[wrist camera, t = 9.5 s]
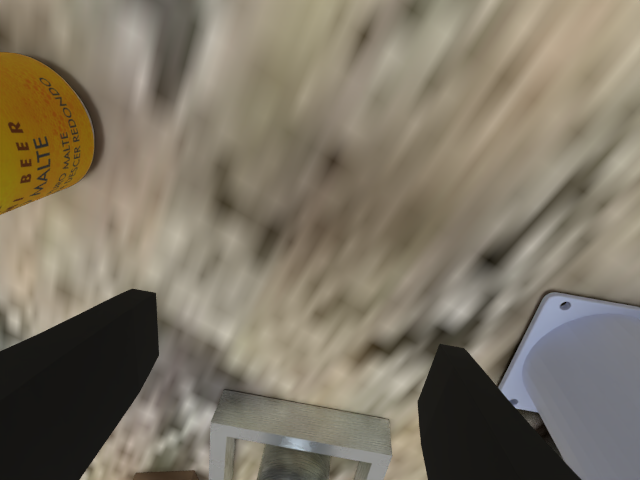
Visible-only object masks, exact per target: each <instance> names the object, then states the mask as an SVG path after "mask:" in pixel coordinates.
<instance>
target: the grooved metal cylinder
mask: <svg viewBox="0 0 640 480" xmlns="http://www.w3.org/2000/svg"><path fill="white" fill-rule="evenodd" d="M329 471H330V456H329V455H324V454H319V453H313V452H308V451H302V450H297V449H292V448H286V447H281V446H275V445H270V444H265V448H264V452H263V456H262V460H261V464H260V468H259V473H258V477H257V480H329Z"/></svg>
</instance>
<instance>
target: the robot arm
mask: <svg viewBox="0 0 640 480" xmlns="http://www.w3.org/2000/svg"><path fill="white" fill-rule="evenodd" d="M563 302H567V303H566V304H565V305H562V306H560V305H561V304H562V303H563ZM158 356H159V346H158V326H157V306H156V293H153V292H148V291H142V290H137V289H130V290H128V291H126V292H124V293H121V294H119V295H117V296H115V297H113V298H111V299H109V300H107V301H105V302H103V303H101V304H99V305H97V306H95V307H93V308H91V309H89V310H87V311H85V312H83V313H81V314H79V315H77V316H75V317H73V318H71V319H68V320H66V321H64V322H62V323H60V324H58V325H56V326H54V327H52V328H50V329H48V330H46V331H44V332H42V333H40V334H38V335H36V336H33V337H31V338H29V339H27V340H24V341H22V342H20V343H18V344H16V345H13V346H11V347H9V348H7V349H5V350H2V351H0V480H79V479H80V478H81V476H82V475H83V474H84V472H85V471H86V469H87V468H88V466H89V465H90V463H91V462H92V461H93V459H94V458H95V456H96V455H97V453H98V452H99V450H100V449H101V448H102V446H103V445H104V443H105V442H106V440H107V439H108V438H109V436H110V435H111V433H112V432H113V430H114V429H115V427H116V426H117V425H118V423H119V422H120V420H121V419H122V417H123V416H124V414H125V413H126V411H127V410H128V408H129V407H130V406H131V404H132V403H133V401H134V400H135V398H136V397H137V395H138V394H139V392H140V390H141V388H142V387H143V385H144V383H145V381H146V379H147V377H148V376H149V374H150V372H151V370H152V368H153V366H154V364H155V362H156V360H157V358H158ZM511 399H513V400H511ZM516 408H517V409H522V410H528V411H533V412H538V413H539V414H540V416H541V418H542V420H543V422H544V424H545V426H546V427H547V429H548V431H549V433H550V435H551V437H552V439H553V440H554V442H555V444H556V446H557V448H558V450H559V452H560V453H561V455H562V457H563V459H564V461H565V462H564V461H563V460H562V459H561V458H560V457H559V456H558V454H557V453H556V452H555V451H554V450H553V449H552V448H551V447H550V446H549V445H548V444H547V443H546V442H545V441H544V440H543V438H542V437H541V436H540V435H539V434H538V433H537V432H536V431H535V430H534V429H533V427H532V426H531V425H530V424H529V423H528V422H527V421H526V420H525V418H524V417H523V416H522V415H521V414H520V413H519V412H518V410H517V409H516ZM418 414H419V427H420V437H421V446H422V451H423V456H424V461H425V466H426V471H427V476H428V480H640V307H636V306H631V305H625V304H619V303H614V302H608V301H602V300H597V299H591V298H586V297H580V296H574V295H569V294H563V293H557V292H552V293H549V294H547V295H546V296H545V297H544V298H543V299H542V301H541V303H540V305H539V307H538V309H537V311H536V313H535V315H534V317H533V319H532V321H531V323H530V325H529V327H528V329H527V331H526V333H525V335H524V337H523V339H522V341H521V343H520V345H519V347H518V349H517V351H516V353H515V355H514V357H513V359H512V361H511V363H510V365H509V367H508V369H507V371H506V373H505V375H504V377H503V379H502V381H501V383H500V385H499V387H497V386H496V385H495V384H494V382H493V381H492V380H491V379H490V378H489V376H488V375H487V374H486V373H485V372H484V371H483V369H482V368H481V367H480V366H479V365H478V363H477V362H476V361H475V360H474V359H473V358H472V357H471V355H470V354H469V353H468V352H467V351H466V350H465V349H464V348H459V347H454V346H448V345H443V344H440V345H439V347H438V350H437V352H436V355H435V358H434V360H433V363H432V366H431V368H430V371H429V374H428V376H427V379H426V381H425V384H424V387H423V389H422V392H421V395H420V397H419V400H418Z"/></svg>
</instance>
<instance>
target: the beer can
mask: <svg viewBox="0 0 640 480" xmlns="http://www.w3.org/2000/svg"><path fill="white" fill-rule="evenodd" d="M93 155H94V129H93V124H92V121H91V118H90V115H89V113H88V111H87V109H86V107H85V105H84V103H83V102H82V101H81V99H80V98H79V96H78V95H77V94H76V93H75V91H74V90H73V89H72V88H71V87H70V86H69V84H68V83H67V82H66V81H65V80H64V79H63V78H62V77H61V76H59V75H58V74H57V73H56V72H55V71H53V70H52V69H51V68H49V67H48V66H46V65H45V64H43V63H41V62H39V61H37V60H35V59H33V58H31V57H28V56H25V55H21V54H17V53H7V52H0V215H1V214H3V213H6V212H8V211H11V210H13V209H16V208H18V207H20V206H23V205H25V204H28V203H30V202H33V201H35V200H38V199H40V198H43V197H45V196H48V195H50V194H53V193H55V192H58V191H60V190H63V189H65V188H67V187H70V186H72V185H74V184H75V183H77V182H79V181H80V180H81V179H82V178H83V177H84V176H85V174H86V173H87V171H88V170H89V168H90V165H91V163H92V160H93Z"/></svg>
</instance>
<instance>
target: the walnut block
mask: <svg viewBox="0 0 640 480" xmlns="http://www.w3.org/2000/svg"><path fill="white" fill-rule="evenodd" d="M133 480H199V479H198V477H197V475H196V473H195V471H194V470H192V471H170V472H147V473H136V474H135V476H134V478H133Z"/></svg>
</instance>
